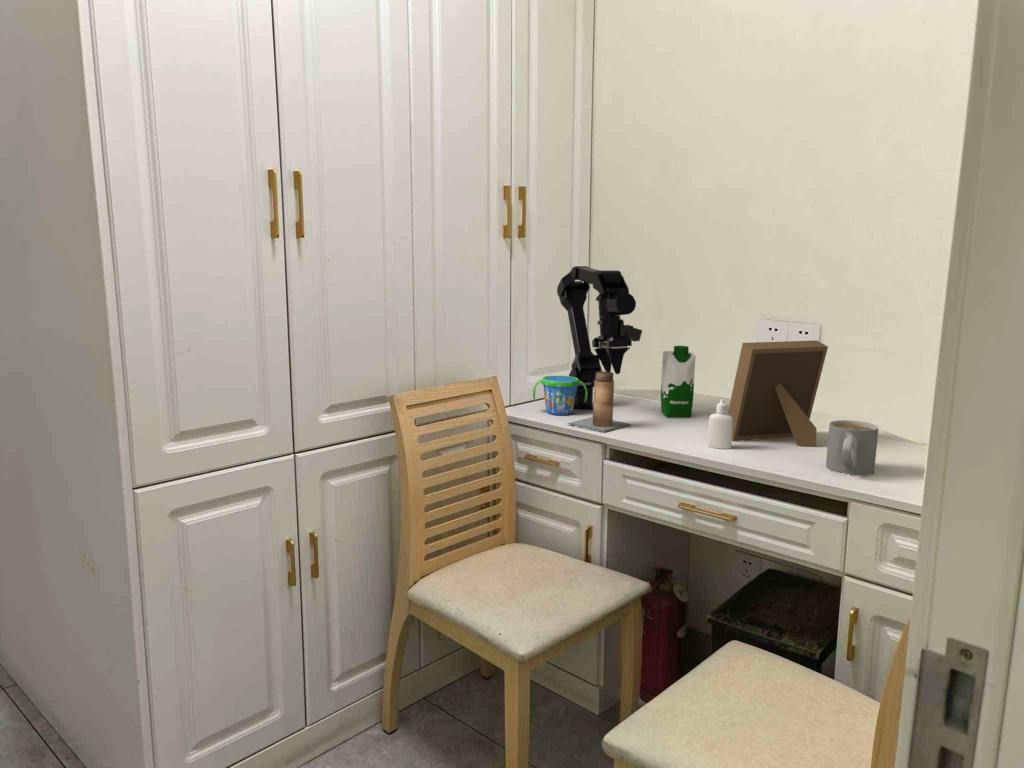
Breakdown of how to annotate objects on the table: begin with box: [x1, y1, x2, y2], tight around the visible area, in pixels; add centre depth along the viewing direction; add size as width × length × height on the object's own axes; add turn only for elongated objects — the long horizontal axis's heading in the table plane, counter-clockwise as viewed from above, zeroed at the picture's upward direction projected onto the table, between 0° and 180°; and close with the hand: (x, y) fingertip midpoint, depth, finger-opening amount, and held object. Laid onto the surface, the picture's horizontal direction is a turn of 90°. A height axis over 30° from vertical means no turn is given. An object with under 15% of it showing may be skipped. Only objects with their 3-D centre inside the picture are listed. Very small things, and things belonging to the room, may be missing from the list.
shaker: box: [592, 371, 615, 427], centre depth 214 cm, size 5×5×14 cm
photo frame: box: [727, 339, 829, 447], centre depth 201 cm, size 15×22×25 cm
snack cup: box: [532, 375, 587, 416], centre depth 231 cm, size 16×11×10 cm
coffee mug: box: [825, 419, 879, 476], centre depth 177 cm, size 13×10×10 cm
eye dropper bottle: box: [707, 398, 733, 450], centre depth 195 cm, size 4×6×12 cm
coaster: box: [567, 416, 631, 433], centre depth 217 cm, size 12×12×1 cm
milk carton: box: [660, 345, 697, 418], centre depth 230 cm, size 9×9×20 cm
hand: (612, 373), depth 222 cm, fingers open, 9 cm apart
